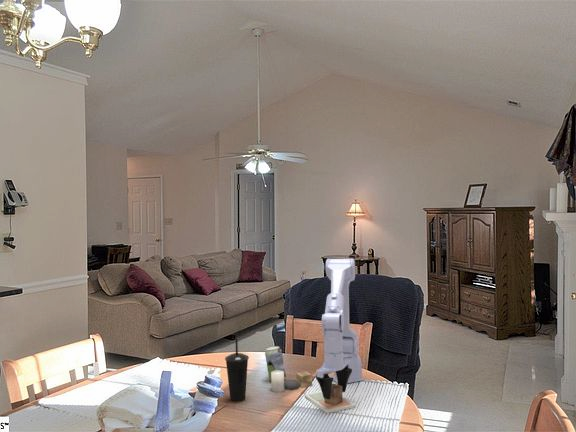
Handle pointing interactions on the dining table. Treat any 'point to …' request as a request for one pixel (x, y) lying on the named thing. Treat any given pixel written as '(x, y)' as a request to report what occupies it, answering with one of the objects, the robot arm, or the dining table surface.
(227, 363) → the drinking cup
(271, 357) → the beverage can
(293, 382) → the rubber puck
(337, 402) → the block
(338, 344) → the robot arm
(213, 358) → the dining table surface
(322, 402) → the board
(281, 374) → the ceramic cylinder
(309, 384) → the oak cube
